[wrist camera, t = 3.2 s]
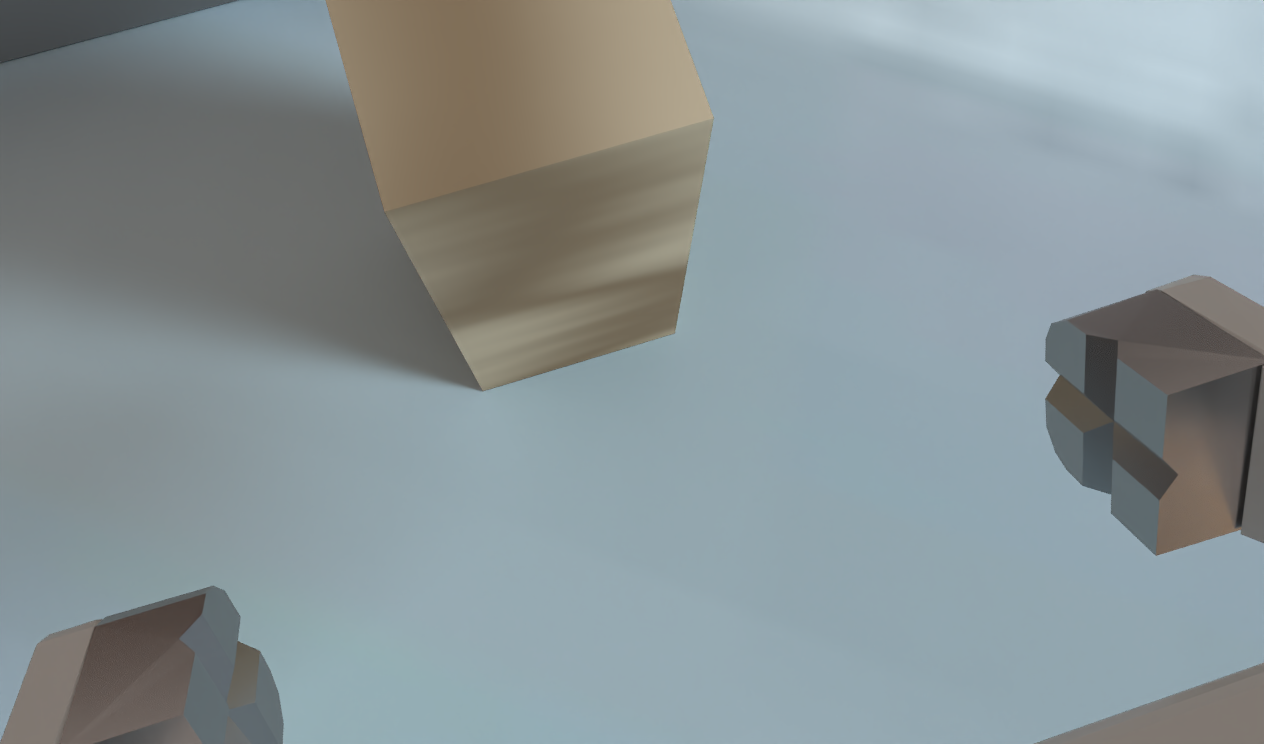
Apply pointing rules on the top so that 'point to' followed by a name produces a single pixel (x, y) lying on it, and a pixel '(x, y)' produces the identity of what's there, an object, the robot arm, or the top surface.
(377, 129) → the block
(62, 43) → the grey block holder
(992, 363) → the top surface
